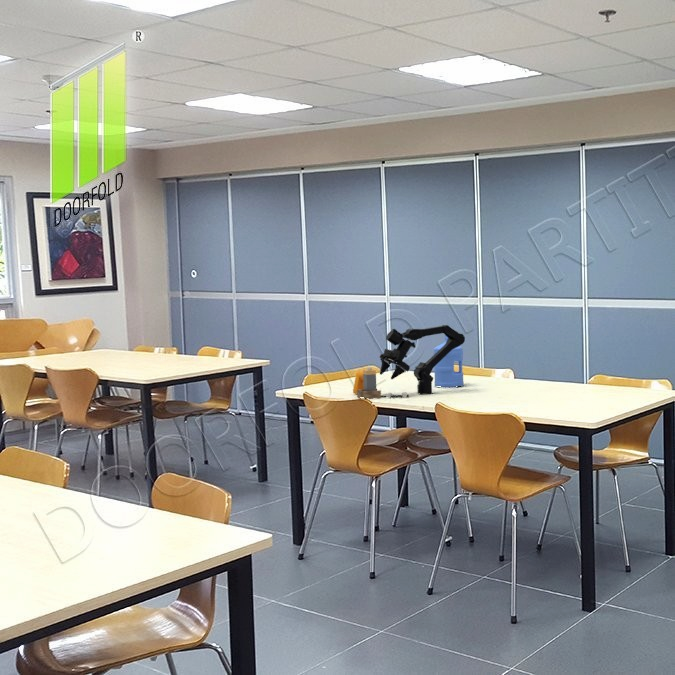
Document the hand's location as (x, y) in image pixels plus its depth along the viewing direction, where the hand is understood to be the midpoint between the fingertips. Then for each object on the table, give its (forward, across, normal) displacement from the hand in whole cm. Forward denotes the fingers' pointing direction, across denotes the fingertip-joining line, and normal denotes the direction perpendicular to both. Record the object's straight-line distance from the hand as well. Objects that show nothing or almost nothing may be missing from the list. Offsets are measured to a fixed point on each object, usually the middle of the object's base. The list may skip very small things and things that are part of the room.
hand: (385, 376), depth 462 cm
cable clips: (+6, +8, +6) cm, 12 cm away
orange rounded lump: (+12, -14, +6) cm, 19 cm away
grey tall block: (+12, -1, -1) cm, 13 cm away
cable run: (+7, +7, +6) cm, 11 cm away
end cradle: (+13, -1, -1) cm, 13 cm away
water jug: (-18, -7, +47) cm, 51 cm away
